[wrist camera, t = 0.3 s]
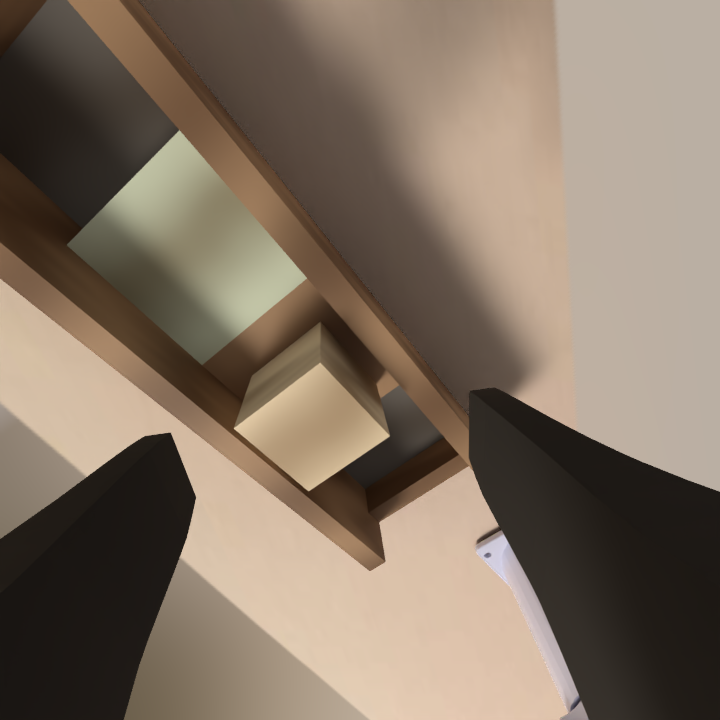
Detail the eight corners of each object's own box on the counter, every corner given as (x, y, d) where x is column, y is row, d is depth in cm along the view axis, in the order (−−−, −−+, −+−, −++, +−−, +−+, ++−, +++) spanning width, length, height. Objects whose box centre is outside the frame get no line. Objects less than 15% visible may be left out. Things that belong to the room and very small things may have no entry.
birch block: (376, 384, 18) (390, 436, 14) (311, 430, 19) (308, 491, 15) (320, 321, 17) (320, 362, 13) (251, 375, 17) (233, 428, 14)
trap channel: (478, 428, 22) (513, 485, 18) (361, 504, 24) (369, 571, 20) (67, -89, 12) (-60, -219, 8) (-84, 107, 14) (-252, 79, 10)
